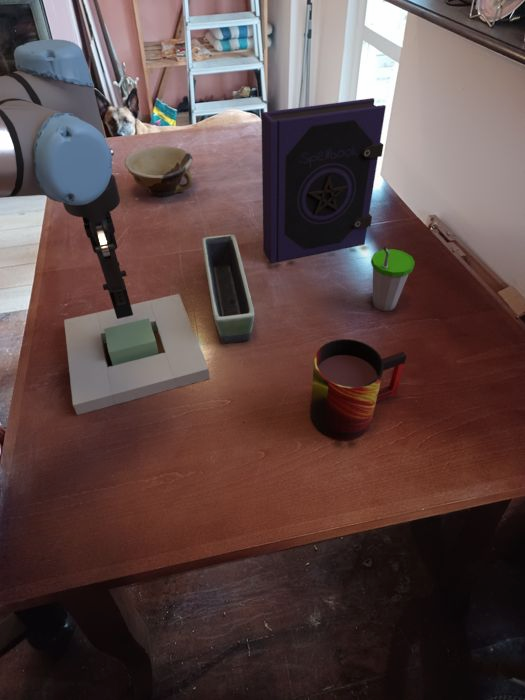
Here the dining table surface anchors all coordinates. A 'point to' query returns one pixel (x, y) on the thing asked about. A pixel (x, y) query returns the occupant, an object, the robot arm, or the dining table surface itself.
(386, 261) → the cup
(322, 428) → the mug
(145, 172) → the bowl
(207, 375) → the base pad
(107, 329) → the green block
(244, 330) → the planter
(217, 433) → the dining table surface
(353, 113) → the book
